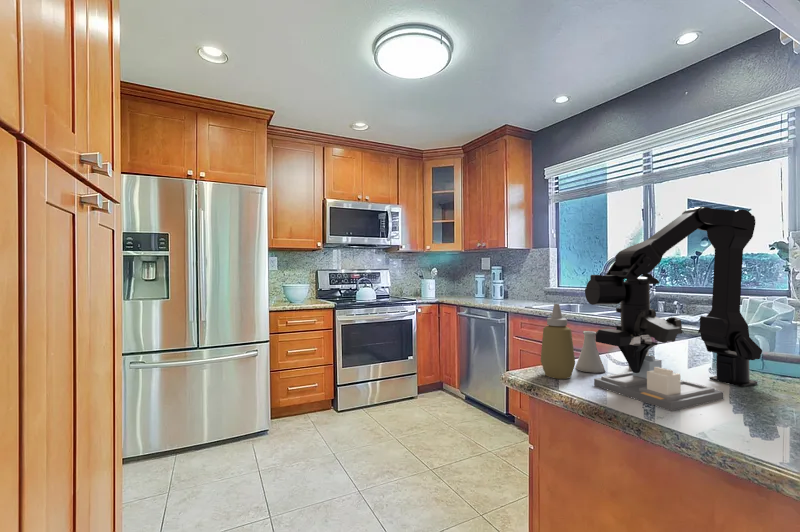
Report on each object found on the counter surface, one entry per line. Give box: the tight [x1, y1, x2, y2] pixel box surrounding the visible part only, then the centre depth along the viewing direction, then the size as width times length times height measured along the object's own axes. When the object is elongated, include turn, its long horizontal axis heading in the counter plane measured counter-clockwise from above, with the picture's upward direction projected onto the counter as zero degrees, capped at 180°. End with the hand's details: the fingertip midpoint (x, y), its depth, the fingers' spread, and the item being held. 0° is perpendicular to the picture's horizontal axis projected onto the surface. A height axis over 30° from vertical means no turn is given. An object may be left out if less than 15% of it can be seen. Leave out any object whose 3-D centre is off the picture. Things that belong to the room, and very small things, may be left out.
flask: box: [575, 330, 606, 374], centre depth 99 cm, size 7×7×10 cm
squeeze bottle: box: [540, 303, 576, 380], centre depth 94 cm, size 8×8×18 cm
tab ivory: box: [647, 367, 681, 396], centre depth 76 cm, size 4×4×5 cm
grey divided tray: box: [593, 371, 725, 412], centre depth 82 cm, size 16×17×2 cm
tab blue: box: [633, 355, 663, 379], centre depth 87 cm, size 4×4×5 cm
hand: (635, 372), depth 86 cm, fingers closed
